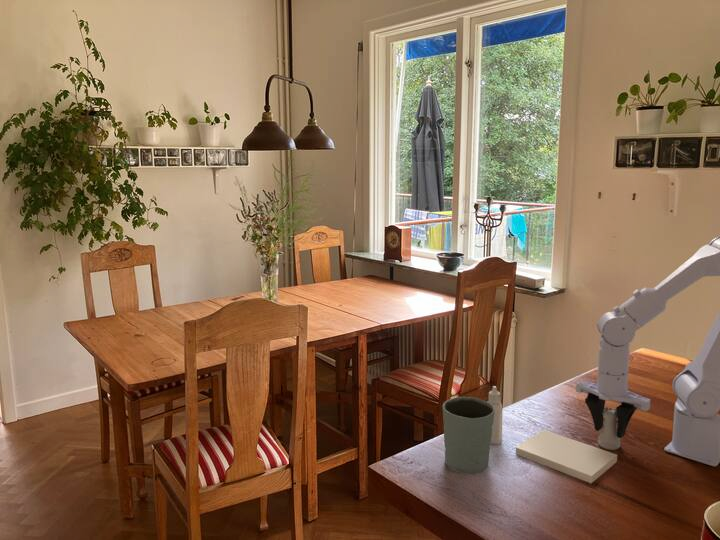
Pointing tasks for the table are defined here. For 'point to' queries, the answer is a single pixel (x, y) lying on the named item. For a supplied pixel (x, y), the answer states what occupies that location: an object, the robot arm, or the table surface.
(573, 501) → the table surface
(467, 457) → the green cup
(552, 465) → the cream tile
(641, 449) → the table surface
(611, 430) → the rook chess piece
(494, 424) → the eye dropper bottle
